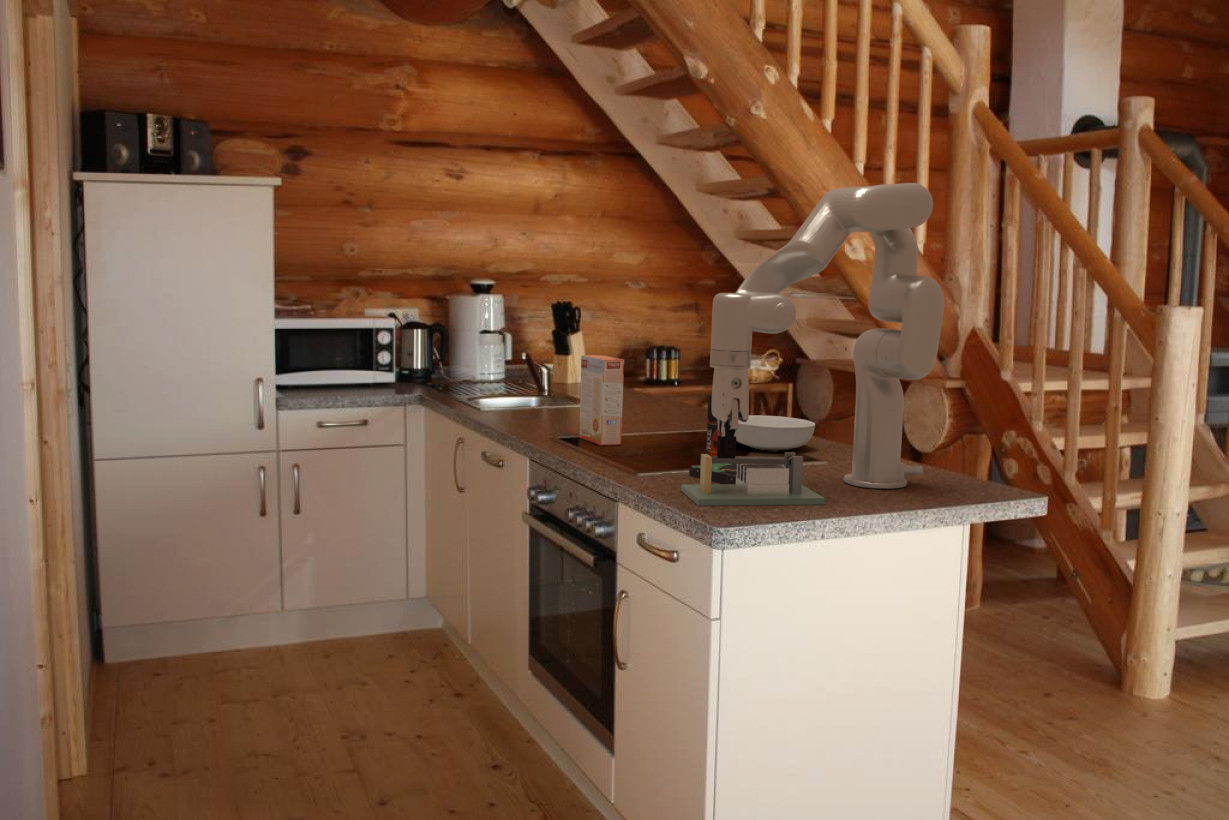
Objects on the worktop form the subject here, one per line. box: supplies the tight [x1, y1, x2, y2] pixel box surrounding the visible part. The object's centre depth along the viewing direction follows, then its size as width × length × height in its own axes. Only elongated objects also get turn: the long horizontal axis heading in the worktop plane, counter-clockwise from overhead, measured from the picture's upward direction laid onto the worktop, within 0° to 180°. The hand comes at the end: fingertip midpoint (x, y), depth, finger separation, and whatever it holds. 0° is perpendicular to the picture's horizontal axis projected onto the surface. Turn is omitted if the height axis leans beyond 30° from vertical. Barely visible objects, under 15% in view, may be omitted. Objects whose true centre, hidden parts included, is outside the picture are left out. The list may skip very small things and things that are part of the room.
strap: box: [711, 455, 794, 465], centre depth 220 cm, size 17×3×2 cm, turn 100°
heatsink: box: [736, 464, 789, 495], centre depth 221 cm, size 8×8×5 cm
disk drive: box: [688, 463, 737, 484], centre depth 240 cm, size 10×3×15 cm
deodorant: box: [705, 393, 718, 456], centre depth 259 cm, size 6×6×15 cm
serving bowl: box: [736, 414, 816, 451], centre depth 282 cm, size 21×21×7 cm
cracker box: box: [578, 354, 625, 447], centre depth 284 cm, size 14×6×21 cm, turn 23°
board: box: [680, 451, 826, 507], centre depth 221 cm, size 24×14×8 cm, turn 100°
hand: (726, 457), depth 219 cm, fingers closed
